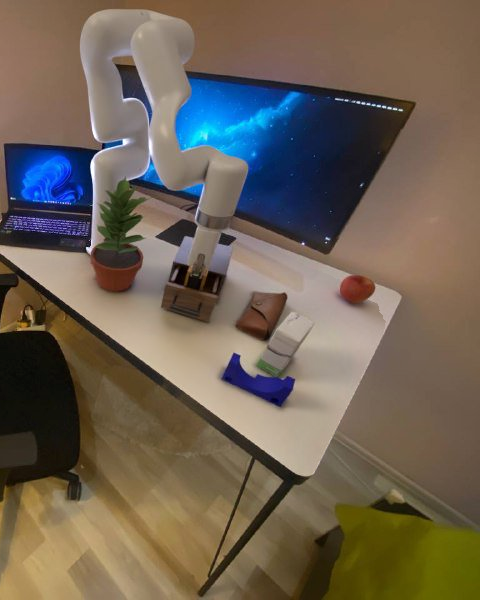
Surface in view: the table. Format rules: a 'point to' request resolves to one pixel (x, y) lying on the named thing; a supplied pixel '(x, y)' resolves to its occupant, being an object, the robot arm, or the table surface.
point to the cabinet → (216, 265)
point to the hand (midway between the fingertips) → (194, 282)
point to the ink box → (285, 343)
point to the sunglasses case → (262, 314)
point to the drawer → (190, 295)
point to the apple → (356, 288)
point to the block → (202, 276)
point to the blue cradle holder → (258, 382)
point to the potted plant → (118, 241)
